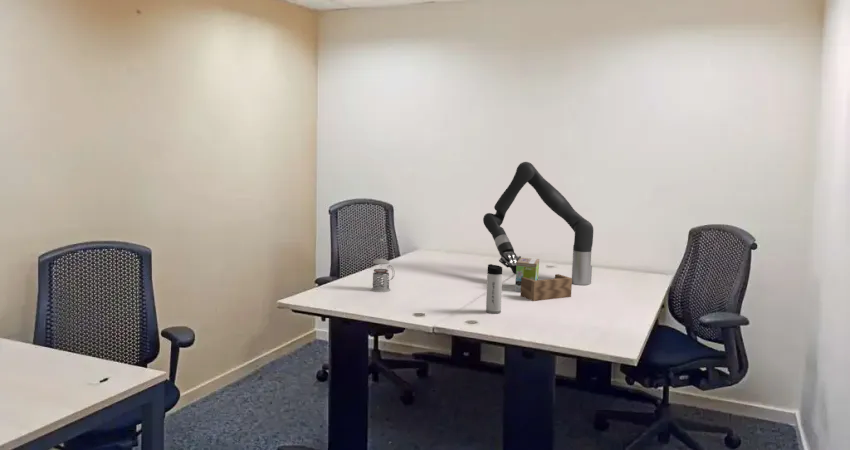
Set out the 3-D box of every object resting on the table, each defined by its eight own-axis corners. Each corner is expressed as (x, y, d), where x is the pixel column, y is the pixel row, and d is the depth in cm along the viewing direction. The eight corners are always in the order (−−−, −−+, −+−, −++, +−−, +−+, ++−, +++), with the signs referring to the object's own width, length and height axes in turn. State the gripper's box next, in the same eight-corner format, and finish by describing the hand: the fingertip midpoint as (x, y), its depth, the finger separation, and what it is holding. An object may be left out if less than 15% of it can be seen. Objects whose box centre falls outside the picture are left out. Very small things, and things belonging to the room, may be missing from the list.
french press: (375, 287, 313) (376, 236, 310) (397, 289, 309) (398, 238, 306) (367, 291, 304) (367, 239, 300) (389, 293, 300) (390, 240, 297)
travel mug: (492, 309, 275) (494, 263, 272) (503, 312, 270) (505, 265, 267) (482, 311, 271) (484, 264, 269) (493, 314, 266) (495, 267, 263)
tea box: (535, 293, 307) (536, 263, 305) (514, 291, 309) (515, 261, 307) (538, 287, 321) (539, 258, 319) (518, 285, 324) (519, 256, 322)
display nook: (557, 292, 310) (558, 274, 309) (571, 296, 301) (572, 278, 300) (520, 296, 300) (521, 277, 299) (533, 301, 291) (534, 281, 290)
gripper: (496, 241, 324) (508, 269, 315) (517, 240, 330) (530, 268, 321) (490, 250, 330) (502, 278, 320) (511, 249, 336) (524, 276, 326)
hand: (516, 273), depth 321 cm, fingers closed
